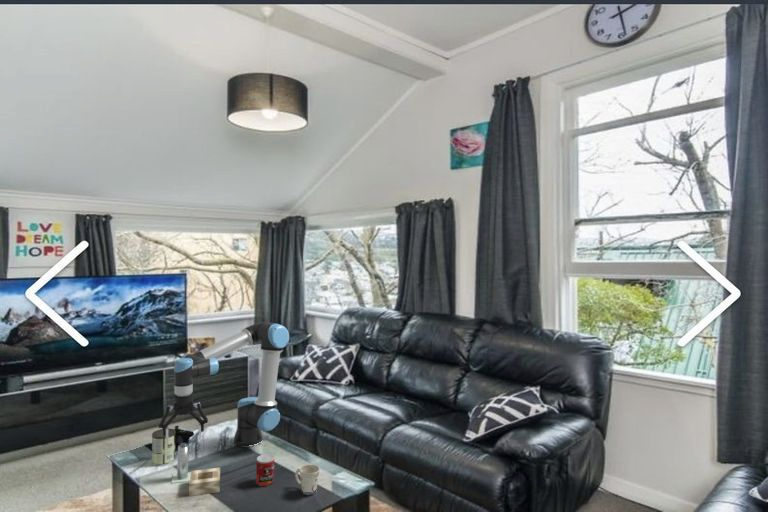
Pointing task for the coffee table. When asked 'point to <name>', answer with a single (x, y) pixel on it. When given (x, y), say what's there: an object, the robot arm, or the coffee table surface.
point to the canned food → (265, 469)
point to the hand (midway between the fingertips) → (183, 440)
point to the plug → (182, 461)
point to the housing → (204, 481)
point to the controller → (182, 435)
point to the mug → (308, 477)
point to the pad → (180, 480)
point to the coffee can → (163, 448)
